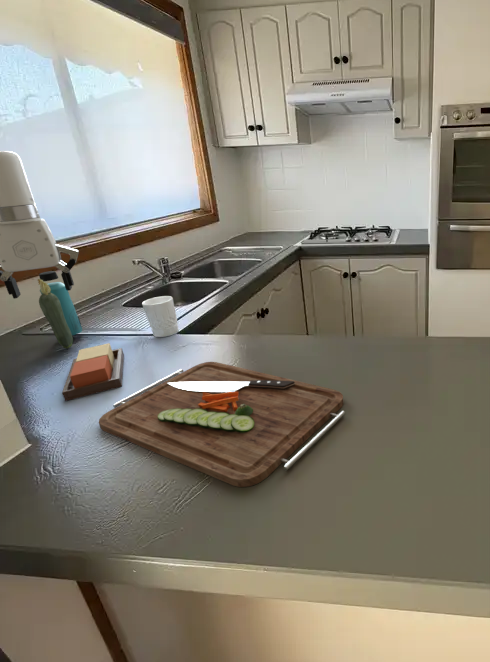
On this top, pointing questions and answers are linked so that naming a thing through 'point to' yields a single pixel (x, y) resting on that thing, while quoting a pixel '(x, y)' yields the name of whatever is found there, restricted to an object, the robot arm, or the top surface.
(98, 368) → the terracotta pad
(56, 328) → the vegetable
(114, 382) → the tray
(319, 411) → the chopping board
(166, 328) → the white cup
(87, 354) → the beige pad
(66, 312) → the beverage bottle
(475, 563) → the top surface
